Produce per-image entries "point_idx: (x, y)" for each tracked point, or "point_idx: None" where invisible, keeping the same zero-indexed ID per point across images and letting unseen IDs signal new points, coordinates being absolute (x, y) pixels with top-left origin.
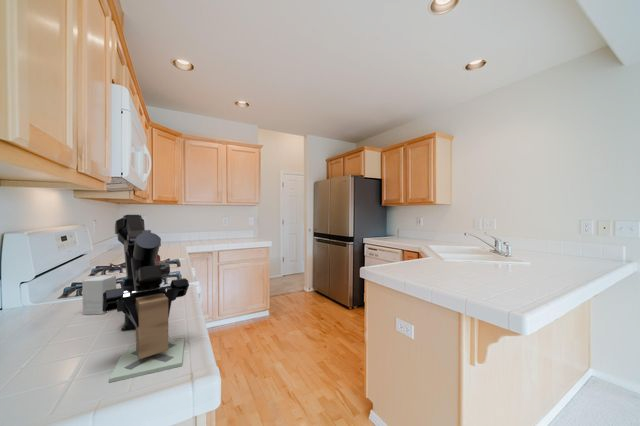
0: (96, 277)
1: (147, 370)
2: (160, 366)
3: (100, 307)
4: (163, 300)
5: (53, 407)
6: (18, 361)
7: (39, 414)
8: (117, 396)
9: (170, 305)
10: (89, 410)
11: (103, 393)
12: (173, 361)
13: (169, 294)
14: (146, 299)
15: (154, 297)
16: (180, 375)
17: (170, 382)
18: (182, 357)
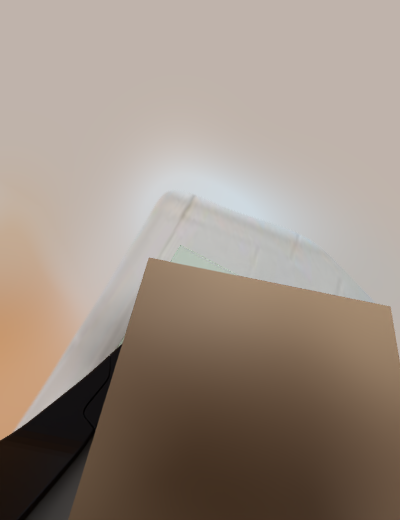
0: None
1: (228, 270)
2: (209, 264)
3: None
4: (191, 269)
5: (339, 294)
6: None
7: (352, 291)
8: (272, 248)
9: (114, 352)
10: (302, 246)
11: (286, 272)
12: (187, 261)
13: (15, 475)
14: (321, 444)
15: (226, 454)
16: (195, 224)
17: (213, 220)
18: (170, 261)
